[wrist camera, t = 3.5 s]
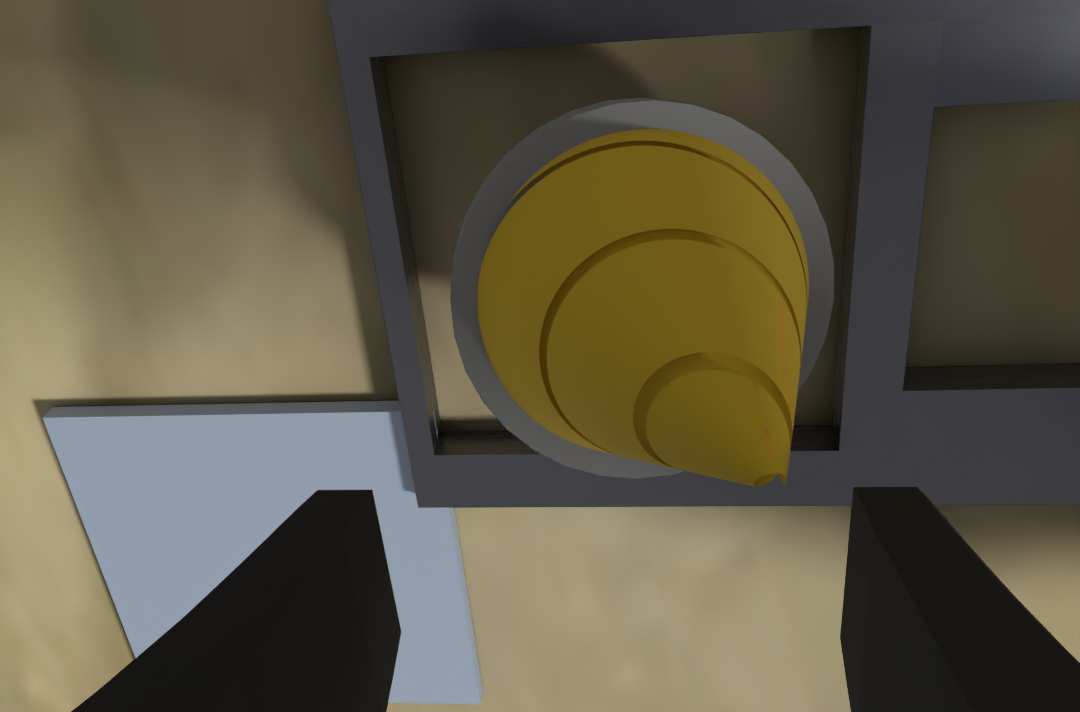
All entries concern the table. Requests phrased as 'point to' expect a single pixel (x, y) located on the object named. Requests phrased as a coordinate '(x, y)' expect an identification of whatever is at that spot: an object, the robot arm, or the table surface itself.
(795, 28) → the rectangular frame
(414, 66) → the table surface
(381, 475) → the mat
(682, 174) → the yellow cone
